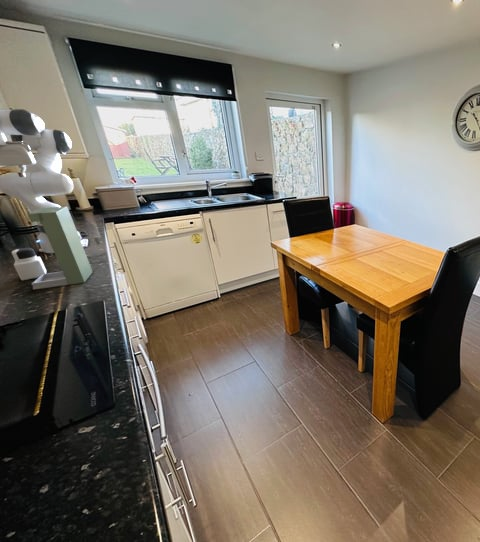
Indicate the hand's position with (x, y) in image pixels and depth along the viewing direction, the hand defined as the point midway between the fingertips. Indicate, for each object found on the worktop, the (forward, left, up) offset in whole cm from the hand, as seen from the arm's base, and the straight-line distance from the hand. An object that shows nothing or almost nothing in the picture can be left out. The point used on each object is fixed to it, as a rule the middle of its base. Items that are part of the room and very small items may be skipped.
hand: (7, 177), depth 116 cm
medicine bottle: (+15, +1, -39) cm, 42 cm away
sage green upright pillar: (+26, +13, -39) cm, 49 cm away
